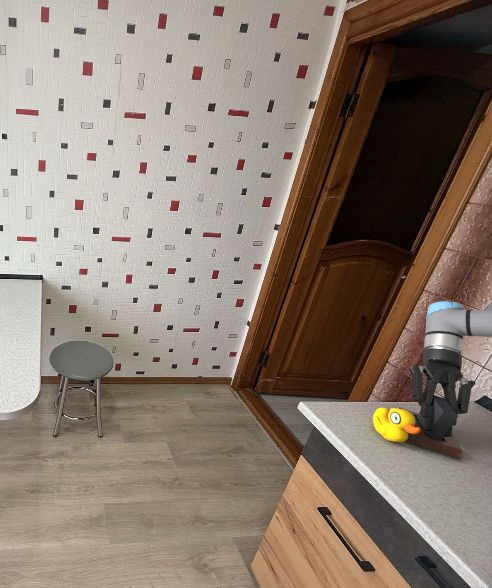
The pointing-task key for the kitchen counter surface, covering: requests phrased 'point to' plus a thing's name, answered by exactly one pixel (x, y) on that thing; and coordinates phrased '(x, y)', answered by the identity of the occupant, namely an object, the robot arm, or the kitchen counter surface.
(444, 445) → the seat base
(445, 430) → the dark grey rectangular block
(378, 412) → the duckling
